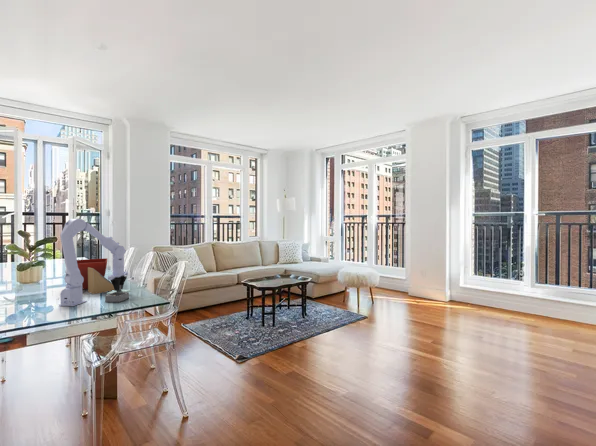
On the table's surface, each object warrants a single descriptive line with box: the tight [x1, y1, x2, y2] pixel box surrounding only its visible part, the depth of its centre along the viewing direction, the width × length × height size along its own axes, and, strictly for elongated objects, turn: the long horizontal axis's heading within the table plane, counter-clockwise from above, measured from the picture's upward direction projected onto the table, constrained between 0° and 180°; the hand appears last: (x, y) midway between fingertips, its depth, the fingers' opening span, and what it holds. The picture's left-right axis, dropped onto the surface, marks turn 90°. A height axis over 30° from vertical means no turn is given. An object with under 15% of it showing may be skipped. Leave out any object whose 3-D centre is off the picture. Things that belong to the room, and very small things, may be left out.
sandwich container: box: [87, 267, 114, 295], centre depth 200 cm, size 9×15×15 cm, turn 141°
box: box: [104, 292, 130, 304], centre depth 178 cm, size 8×8×4 cm
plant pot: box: [77, 258, 108, 290], centre depth 209 cm, size 19×19×17 cm
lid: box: [106, 285, 132, 295], centre depth 188 cm, size 9×9×5 cm
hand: (118, 290), depth 188 cm, fingers closed on lid, 3 cm apart
